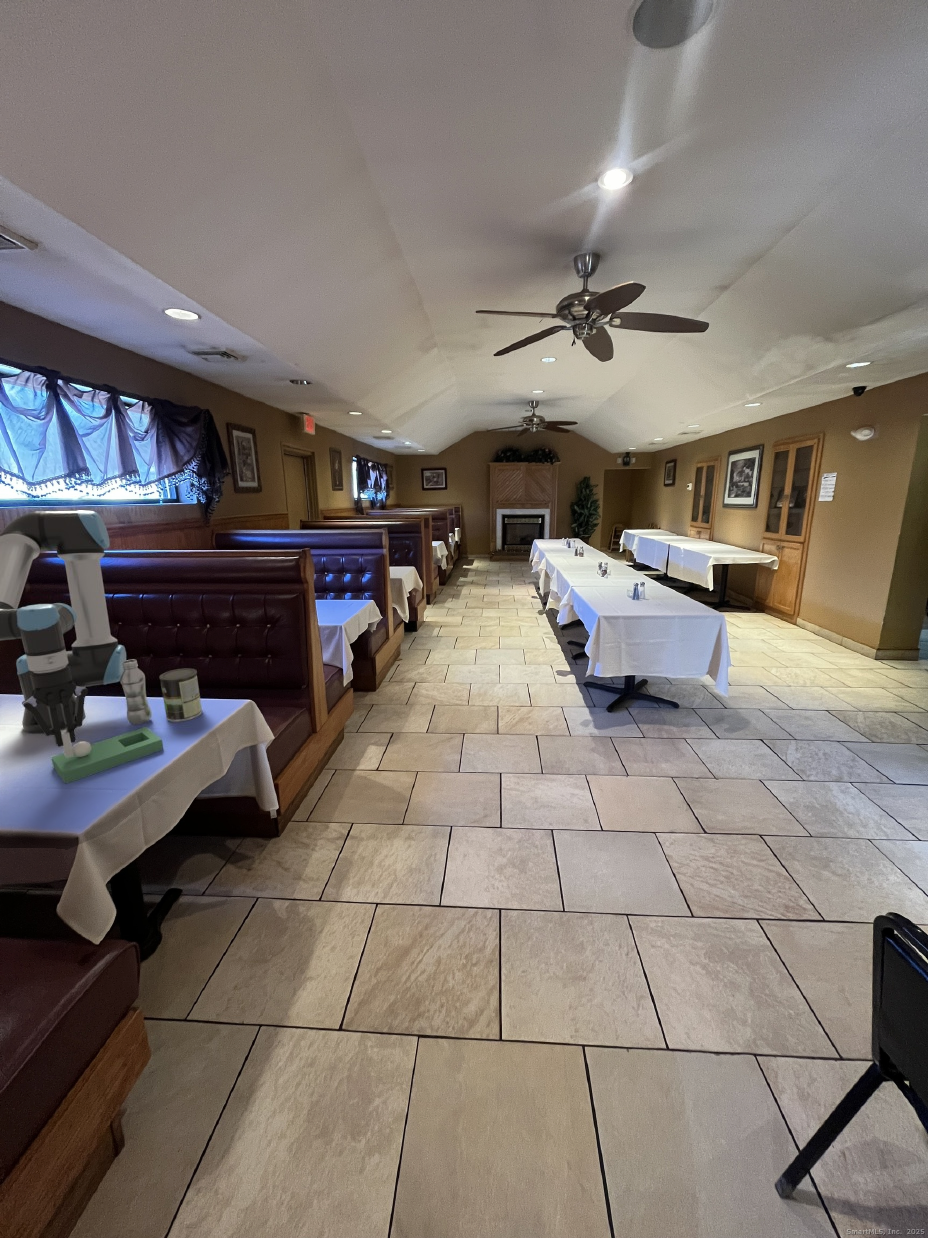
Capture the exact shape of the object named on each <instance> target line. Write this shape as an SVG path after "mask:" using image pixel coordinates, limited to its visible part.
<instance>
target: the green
mask: <svg viewBox="0 0 928 1238" xmlns="http://www.w3.org/2000/svg"><path fill="white" fill-rule="evenodd" d="M89 744H90V743H89ZM90 745H91V751H90V753H89V754H88V755H86V756H84V757H76V756H73V757H70V758H66V756H65V755H64V752H63V753H58V754H57V755H53V756H51V757H50V758H51V762H52V765H53V768H54V770H55V771H56V773H57V774H58V775H59V777H60V778H61V780H63V782H64V784H66V785H67V784H68V783H73V782H75V781H78V780H82V779H84V778H87V777H89V776H91V775H92V776H93V775H95V774H98V773H101V772H104V771H106V770H109V769H111V768H114V767H117V766H120V765H123V764H126V763H128V762H131V761H134V760H137V759H139V758H143V757H145V756H148V755H151V754H153V753H157V752H159V751H162V750H164V745H163V740H162V738H161V737H160V736H158V735H157V734H155V732H153V731H152V730H150V729H149V728H148V727H147V726H145V727H142V728H141V727H140V728H139V729H135V730H132V731H129V732H126V733H123V734H119V735H117V736H113V737H110V738H107V739H103V740H101V741H97V742H94V743H91V744H90Z"/></svg>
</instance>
